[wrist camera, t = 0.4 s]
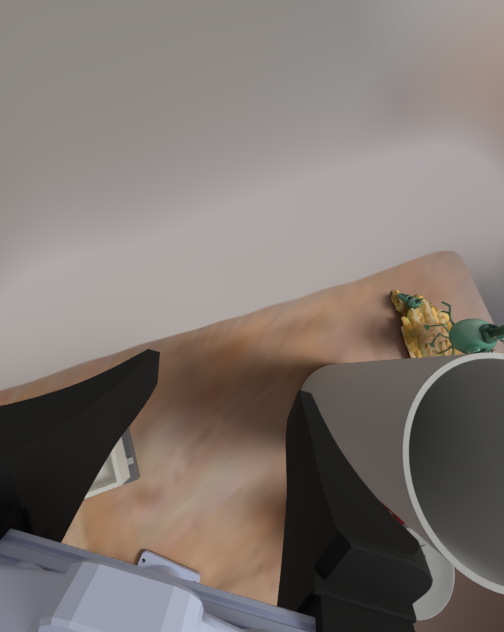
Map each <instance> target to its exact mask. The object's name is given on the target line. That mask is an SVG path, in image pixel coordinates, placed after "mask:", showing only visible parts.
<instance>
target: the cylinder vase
mask: <svg viewBox="0 0 504 632" xmlns="http://www.w3.org/2000/svg"><path fill="white" fill-rule="evenodd" d="M301 391H305V392H309V393H311V394H312V396H313V398H314V400H315V402H316V404H317V407H318V409H319V411H320V413H321V415H322V417H323V419H324V421H325V423H326V425H327V427H328V429H329V431H330V432H331V434H332V436H333V438H334V440H335V441H336V443H337V445H338V446H339V448H340V450H341V451H342V453H343V454H344V456H345V457H346V459H347V460H348V462H349V463H350V464H351V466H352V467H353V469H354V470H355V471H356V473H357V474H358V475H359V477H360V478H361V479H362V480H363V482H364V483H365V484H366V485H367V487H368V488H369V489H370V490H371V492H372V493H373V494H374V495H375V496H376V497H377V499H378V500H380V501H381V502H382V503H383V504H384V505H385V506H386V507H387V508H389V509H390V510H391V511H392V512H393V513H394V514H395V515H397V516H398V517H399V518H400V519H401V520H402V521H403V522H405V523H406V524H407V525H408V526H409V527H410V528H411V529H412V530H414V531H415V532H416V533H417V534H418V535H419V536H420V537H422V538H423V539H424V540H425V541H426V542H427V543H428V544H430V545H431V546H432V547H433V548H434V549H435V550H436V551H437V552H439V553H440V554H441V555H442V556H443V557H444V558H445V559H447V560H448V561H449V562H450V563H451V564H452V565H453V566H455V567H456V568H457V569H458V570H459V571H460V572H462V573H463V574H464V575H466V576H467V577H468V578H470V579H471V580H473V581H475V582H476V583H478V584H480V585H482V586H484V587H486V588H488V589H490V590H493V591H495V592H498V593H501V594H504V354H501V353H473V354H460V355H447V356H434V357H420V358H407V359H394V360H381V361H368V362H355V363H341V364H331V365H326V366H323V367H321V368H319V369H317V370H316V371H314V372H313V373H312V374H311V375H310V376H309V377H308V378H307V379H306V381H305V382H304V384H303V386H302V388H301Z"/></svg>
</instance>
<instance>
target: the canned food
mask: <svg viewBox="0 0 504 632" xmlns="http://www.w3.org/2000/svg"><path fill="white" fill-rule="evenodd" d="M379 501H380V500H379ZM380 502H381V501H380ZM381 503H382V502H381ZM382 504H383V503H382ZM383 505H384V504H383ZM384 506H385V505H384ZM385 507H386V506H385ZM386 509H387V510H388V511H389V512H390V513H391V514H392V515H393V516H394V517H395V518H396V519H397V520H398V521H399V522H400V523H401V524H402V525H403V526H404V527H405V528H406V529H407V530H408V531H409V532H410V533H411V534H412V535H413V536H414V537H415V538H416V539H417V540H418V541H419V544H420V546H421V548H422V551H423V553H424V555H425V558H426V561H427V564H428V567H429V570H430V573H431V576H432V578H433V583H432V586H431V588H430V590H429V591H428V592H427V593H426V594H425V595H423V596H422V597H421V598H420V599H418V600H417V601H416V602H415V603H413V608H414V611H415V614H416V618H417V619H416V620H425V619H429V618H431V617H433V616H435V615H437V614H438V613H439V612H440V611H442V610H443V608H444V607H445V606H446V604H447V603H448V601H449V599H450V597H451V594H452V591H453V587H454V566H453V565H452V564H451V563H450V562H449V561H448V560H447V559H445V558H444V557H443V556H442V555H441V554H440V553H439V552H437V551H436V550H435V549H434V548H433V547H432V546H431V545H430V544H428V543H427V542H426V541H425V540H424V539H423V538H422V537H420V536H419V535H418V534H417V533H416V532H415V531H414V530H412V529H411V528H410V527H409V526H408V525H407V524H406V523H405V522H403V521H402V520H401V519H400V518H399V517H398V516H397V515H395V514H394V513H393V512H392V511H391V510H390V509H389V508H387V507H386Z"/></svg>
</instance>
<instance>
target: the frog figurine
mask: <svg viewBox="0 0 504 632" xmlns="http://www.w3.org/2000/svg"><path fill="white" fill-rule="evenodd" d="M413 297H414V298H413ZM391 301H392V303H393V304H394V305H395V307H396V310H397V311H398V312H400V314H401V313H402V314H403V315H404V316H403V317H402V318H401V319H402V321H403V324H404V325H403V326H402V327H401V330H402V333H403V336H404V340H405V344H406V346H407V348H408V351H409V354H410V356H411V358H420V357H434V356H447V355H460V354H461V352H462V353H465V354H473V353H490V351H491V353H493V350H492V348H493V347H494V346H495V345H496V342H497V340H500V341H504V325H503V326H500V327H498V326H496V325H493V324H489V323H487V322H485V321H483V320H480V319H465V320H461V321H459V322H457V323H456V324H455V323H454V322H453V321H452V319H451V305H449V304H447V303H445V302H441V303H443V304H445V305H447V306H449V312H446V311H442V310H439V311H438V309H437V308H435V306H433V304H432V303H429V302H427V301H426V300H425V299H423V297H422V296H421V295H420V296H418V295H417V293H416V294H415V295H414V296H412V297H410V296H409V295H408V294H407V295H405V294H403V293H402V294H401V293H400V292H399V291H398V290H397V291H395V290H394V291H392V295H391ZM447 313H448V314H447ZM453 324H454V325H453ZM494 350H495V349H494Z"/></svg>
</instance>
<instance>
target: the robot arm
mask: <svg viewBox="0 0 504 632" xmlns="http://www.w3.org/2000/svg"><path fill="white" fill-rule="evenodd" d="M159 356H160V352H157V351H153V350H150V349H147V350H146V351H144V352H142V353H140V354H138V355H136V356H134V357H132V358H131V359H129V360H127V361H125V362H123V363H121V364H119V365H117V366H115V367H113V368H112V369H109V370H107V371H105V372H103V373H101V374H99V375H97V376H94V377H92V378H90V379H88V380H85V381H83V382H80V383H78V384H75V385H72V386H70V387H67V388H64V389H61V390H58V391H55V392H52V393H49V394H45V395H42V396H39V397H36V398H32V399H28V400H24V401H20V402H16V403H12V404H8V405H3V406H0V632H415V630H414V626H413V623H415V622H416V619H417V618H416V614H415V611H414V608H413V603H415V602H416V601H417V600H418V599H420V598H421V597H422V596H423V595H425V594H426V593H427V592H428V591H429V590H430V588H431V586H432V583H433V578H432V576H431V573H430V570H429V567H428V564H427V561H426V558H425V555H424V553H423V551H422V548H421V546H420V544H419V541H418V540H417V539H416V538H415V537H414V536H413V535H412V534H411V533H410V532H409V531H408V530H407V529H406V528H405V527H404V526H403V525H402V524H401V523H400V522H399V521H398V520H397V519H396V518H395V517H394V516H393V515H392V514H391V513H390V512H389V511H388V510H387V509H386V507H385V506H384V505H383V504H382V503H381V502H380V501H379V500H378V499H377V497H376V496H375V495H374V494H373V493H372V492H371V490H370V489H369V488H368V487H367V485H366V484H365V483H364V482H363V480H362V479H361V478H360V477H359V475H358V474H357V473H356V471H355V470H354V469H353V467H352V466H351V464H350V463H349V462H348V460H347V459H346V457H345V456H344V454H343V453H342V451H341V450H340V448H339V446H338V445H337V443H336V441H335V440H334V438H333V436H332V434H331V432H330V431H329V429H328V427H327V425H326V423H325V421H324V419H323V417H322V415H321V413H320V411H319V409H318V407H317V404H316V402H315V400H314V398H313V396H312V394H311V393H309V392H305V391H301V390H299V391H298V394H297V396H296V399H295V401H294V404H293V406H292V409H291V411H290V414H289V416H288V419H287V429H286V473H287V500H286V515H285V529H284V541H283V553H282V563H281V574H280V584H279V593H278V602H277V606H274V605H270V604H267V603H264V602H260V601H257V600H253V599H250V598H247V597H243V596H240V595H236V594H233V593H229V592H226V591H223V590H219V589H216V588H212V587H209V586H206V585H202V584H199V581H200V574H199V573H198V572H195V571H193V570H191V569H189V568H186V567H184V566H182V565H180V564H177V563H175V562H173V561H171V560H168V559H166V558H164V557H162V556H159V555H157V554H155V553H153V552H150V551H148V550H145V551H144V552H143V553H142V555H141V557H140V560H139V562H138V564H137V565H134V564H131V563H127V562H124V561H120V560H117V559H114V558H110V557H107V556H103V555H100V554H96V553H93V552H90V551H86V550H83V549H79V548H76V547H73V546H69V545H66V544H62V543H61V542H62V540H63V538H64V536H65V534H66V532H67V530H68V528H69V526H70V524H71V522H72V520H73V518H74V517H75V515H76V513H77V511H78V509H79V507H80V506H81V504H82V502H83V500H84V498H85V496H86V495H87V493H88V491H89V489H90V487H91V486H92V484H93V482H94V480H95V479H96V477H97V475H98V473H99V472H100V470H101V468H102V466H103V465H104V463H105V461H106V460H107V458H108V456H109V455H110V453H111V451H112V450H113V448H114V447H115V445H116V444H117V442H118V441H119V439H120V438H121V436H122V435H123V434H124V432H125V431H126V430H127V428H128V427H129V426H130V424H131V423H132V422H133V420H134V419H135V417H136V416H137V415H138V413H139V412H140V411H141V409H142V408H143V407H144V405H145V404H146V402H147V401H148V399H149V397H150V396H151V394H152V392H153V390H154V389H155V387H156V385H157V381H158V368H159ZM142 559H145V561H143V560H142ZM193 581H196V583H195V582H193Z"/></svg>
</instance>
